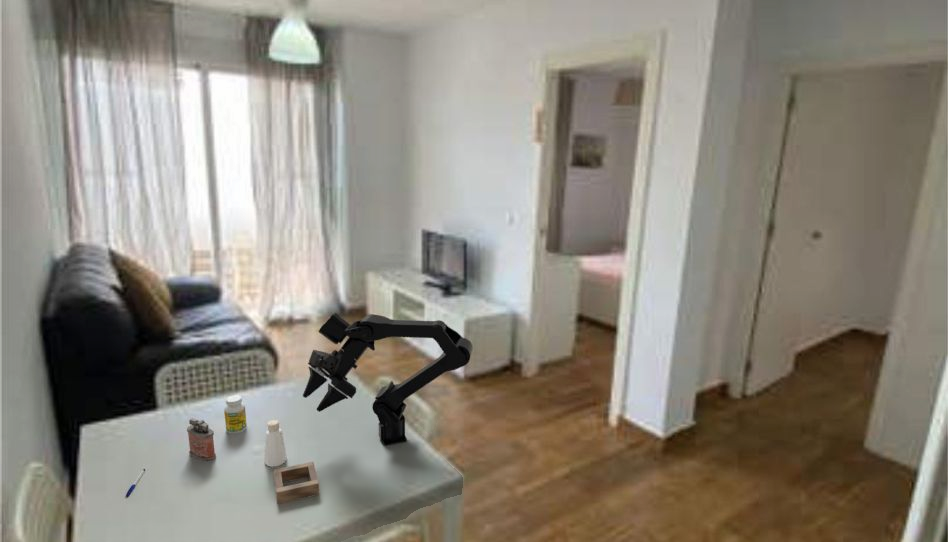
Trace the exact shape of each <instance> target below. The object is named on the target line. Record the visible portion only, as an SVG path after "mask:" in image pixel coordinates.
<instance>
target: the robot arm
mask: <svg viewBox="0 0 948 542" xmlns="http://www.w3.org/2000/svg"><path fill="white" fill-rule="evenodd" d="M318 333H319V334H320V335H322V336H323V337H324V338H325V339H327V340H329V341H330V342H331V343H332V344H334V345H338V344H340V345H341V344H342V343H343V342H344V341H345V340H346V338H347V340H346V341H345V342H344V343H343V344H342V346H341V347H340V349H338V350H337V349H333V350H332V351H331V353H330V352H329V353H328V352H326V351H321V350H317V349H313V350H312V352H311V354H310V357H309V360H308V363H307V364H308V365H309V366H308V370H309V378H308V381H307V384H306V386H305V389H304V391H303V393H302V397H303V398H306V399H307V398H308V397H310V396H311V395H312V394H313V393H314V392H315V391H317V390H318V389H319V388H320V387H321V386H322V385H324V384H325V383H326V382H328V379H329V380H330V381H331V382H330V383H328V384H327V392H326V393H325V395H324V397H323V398H322V399H321V401H320V403H319V404H318V406H317V407H316V411H317V412H319V413H320V412H322V411H324V410H326V409H328V408H329V407H331V406H333V405H335V404H336V403H339V402H341V401H343V400H348V399H349V398H350V399H353V397H354V396H355V395H356V393H357V387H356V386H355V385H353V383H351V382H350V381H348V380H349V378H348V377H347V376H348V374H350V372H351V370H353V369H354V370H356V369H357V368H358V365H357V363H358V361H359V360H360V359H361V357H362V356H363V354H364V353H365V352H366V351H367V350H368V349H370V350H371V351H372V352H374V351H375V350H376V348H375V342H376V341H380V340H384V339H387V338H411V339H412V338H415V339H417V338H418V339H419V338H420V339H433V340H434V342H436V343H437V345H438V346H439V348H440V349H441V351H442V353H441V354H440V355H439V356H438V357H437V358H436V359H434V360H432V361H431V362H430V363H428V364H426V365H425V366H424V367H422V368H421V369H420V370H418V371H417V372H415V373H414V374H412V375H411V376H409V377H408V378H406V379H405V380H403V381H402V382H400V383H397V384H396V383H395V384H394V382H393V380H391V381H390V382H388V384H387V385H385V386H381V388H380V389H379V391H378V393H377V394H376V396H375V398H374V399H375V400H374V401H373V403H372V411H373V413H374V414H375V415H376V417H377V419H378V421H379V422H378V437H379V439H380V441H382V444H383V446H388V445H393V444H398V443H404V442H407V441H408V438H407V437H406V417H405V415H404V414H403V413H404V412H405V410H406V407H407V404H406V403H405V400H406V399H407V398H409V397H410V396H413V394H415V393H416V392H418V391H419V390H421V389H423V388H424V387H425V386H427V385H428V384H430V383H432V381H434V380H436V379H437V378H439V377H440V376H442V375H443V374H444V373H446V372H452V371H455V370H458V369H460V368H463V367H465V366H466V365H468V364H469V362H470V359H471V357H472V353H473V344H472V342H471V341H470V340H469V339H468V338H466V337H463V336H462V335H461V334H460V333H459V332H457V331H456V330H454V329H453V328H451V327H449V326H448V324H447V323H445V322H444V321H442V320H406V319H405V320H403V319H400V320H399V319H392V318H389V317H386V316H383V315H379V314H373V313H371V314H367V315H365V317H364V318H363V319H359V320H355V321H353V322H352V323H349V322H348V321H346V320H345V319H344V318H342V317H341V316H340V315H339V314H338V313H337V312H334V313H332V315H330V317H329V318H328V320H326V322H324V323H323V324H322V325H321V327H320V328H319V330H318Z"/></svg>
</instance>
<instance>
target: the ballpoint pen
mask: <svg viewBox="0 0 948 542" xmlns="http://www.w3.org/2000/svg"><path fill="white" fill-rule="evenodd" d="M145 471H146V468H143V469H142V470H141V472H140V473H139V474H138V476H137V478H136V479H135V481H134V482H133V483H132V485H130V487H129V488H128V490H127V492H126V494H125V498H128V497H129V496H130V495H131V494H132V493H133V491H134V489H135V488H136V486H137V484H138V482H139V481H140V479H141V478H142V476H143V475H144V473H145Z"/></svg>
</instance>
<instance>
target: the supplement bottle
mask: <svg viewBox="0 0 948 542" xmlns="http://www.w3.org/2000/svg"><path fill="white" fill-rule="evenodd" d="M225 404H226V405H225V406H224V409H223V411H224V420H225V431H226V432H227V434H234V435H235V434H240V433H242V432H243V431H245V430H246V429H247V427H248V426H247V424H248V423H247V413H246V405H245V403H244V402H243V399H242V396H241V395H238V394H237V395H229V397H226V399H225Z"/></svg>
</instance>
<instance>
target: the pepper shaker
mask: <svg viewBox="0 0 948 542" xmlns="http://www.w3.org/2000/svg"><path fill="white" fill-rule="evenodd" d="M264 441H265V446H264V460H263V461H264V464H265V465H266V466H271V467H273V466H277V467H279V466H282V465H284V464H285V462H286V461H287V459H288V458H287V456H288V455H287V453H286V447H285V440H284V436H283V430H282V429H281V428H280V421H279V420H277V419H271V420H270V421H268V422H267V431H266V432H265V440H264ZM283 463H284V464H283Z"/></svg>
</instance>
